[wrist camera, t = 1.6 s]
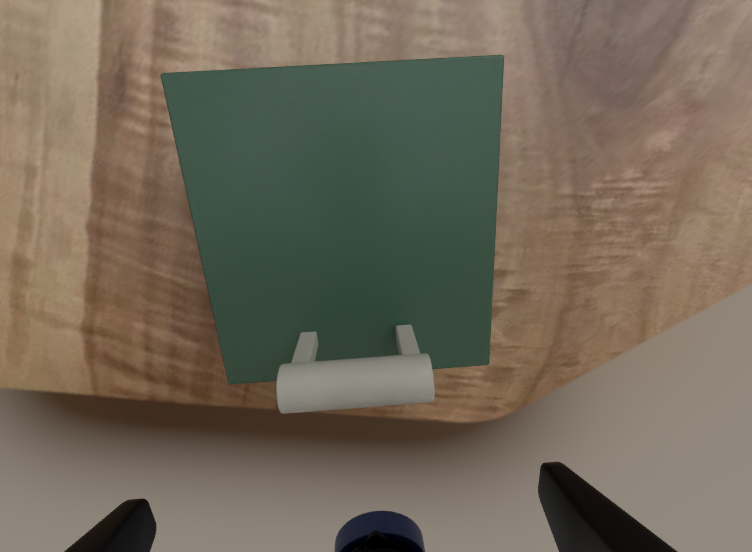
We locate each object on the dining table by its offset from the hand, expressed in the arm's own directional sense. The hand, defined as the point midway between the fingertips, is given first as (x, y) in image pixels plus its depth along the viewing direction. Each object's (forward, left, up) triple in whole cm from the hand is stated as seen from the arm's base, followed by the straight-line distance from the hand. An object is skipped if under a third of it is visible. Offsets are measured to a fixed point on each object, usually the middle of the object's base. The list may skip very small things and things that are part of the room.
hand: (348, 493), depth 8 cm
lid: (+3, -3, -8) cm, 9 cm away
